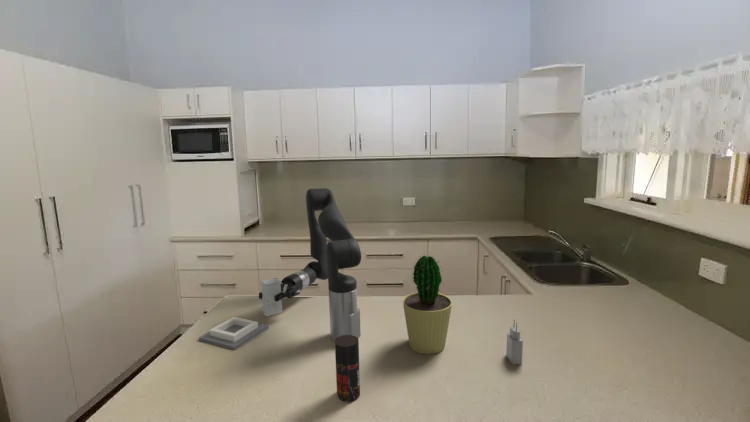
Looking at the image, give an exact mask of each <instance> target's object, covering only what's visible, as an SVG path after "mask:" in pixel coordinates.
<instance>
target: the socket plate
mask: <svg viewBox="0 0 750 422" xmlns="http://www.w3.org/2000/svg"><path fill="white" fill-rule="evenodd" d="M268 329H270V327H269V325H268V324H262V323H260V322H259V321H256V320H255V321H254V320H250V319H245V318H241V317H237V316H232V317H231V318H229V319H227V320H225V321H224V322H222V323H220V324H218V325H216V326H215V327H213V328H211V329H209V331H208V332H207V333H204V334H202V335H201V336H199V337H198V341H199V342H204V343H208V344H211V345H216V346H220V347H222V348H226V349H230V350H234V351H236V350H237V349H238V348H240V347H242V346H243V345H246V344H247V343H248V342H250V341H251V340H253V339H254V338H256V337H257V336H259V335H261V334H262V333H264V332H265V331H266V330H268Z"/></svg>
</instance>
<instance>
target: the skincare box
mask: <svg viewBox="0 0 750 422" xmlns="http://www.w3.org/2000/svg"><path fill="white" fill-rule="evenodd" d="M281 282H282V281H281V280H280V279H279V278H276V277H275V278H269V279H264V280H261V282H260V283H261V284H260V285H261V292H262V299H261V300H262V313H263V314H264V315H265V316H266V317H268V316H273V315H277V314H281V313H283V303H282V301H283V299H281V300H279V301H277V302H276V301H275V300H274V296H275V295H277V294H279V293H281Z"/></svg>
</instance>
